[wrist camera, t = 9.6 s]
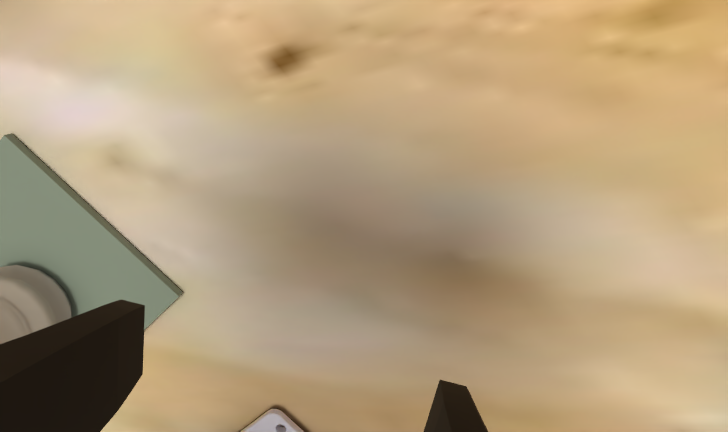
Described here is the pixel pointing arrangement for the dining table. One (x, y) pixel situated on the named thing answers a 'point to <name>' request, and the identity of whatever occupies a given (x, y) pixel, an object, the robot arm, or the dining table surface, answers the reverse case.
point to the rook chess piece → (29, 302)
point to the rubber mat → (71, 239)
